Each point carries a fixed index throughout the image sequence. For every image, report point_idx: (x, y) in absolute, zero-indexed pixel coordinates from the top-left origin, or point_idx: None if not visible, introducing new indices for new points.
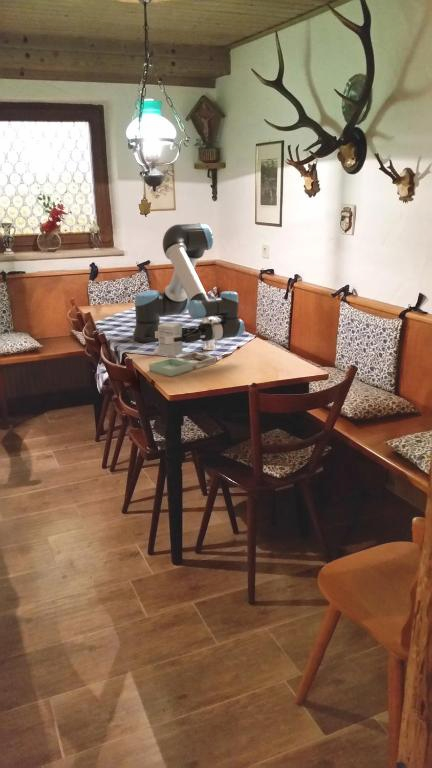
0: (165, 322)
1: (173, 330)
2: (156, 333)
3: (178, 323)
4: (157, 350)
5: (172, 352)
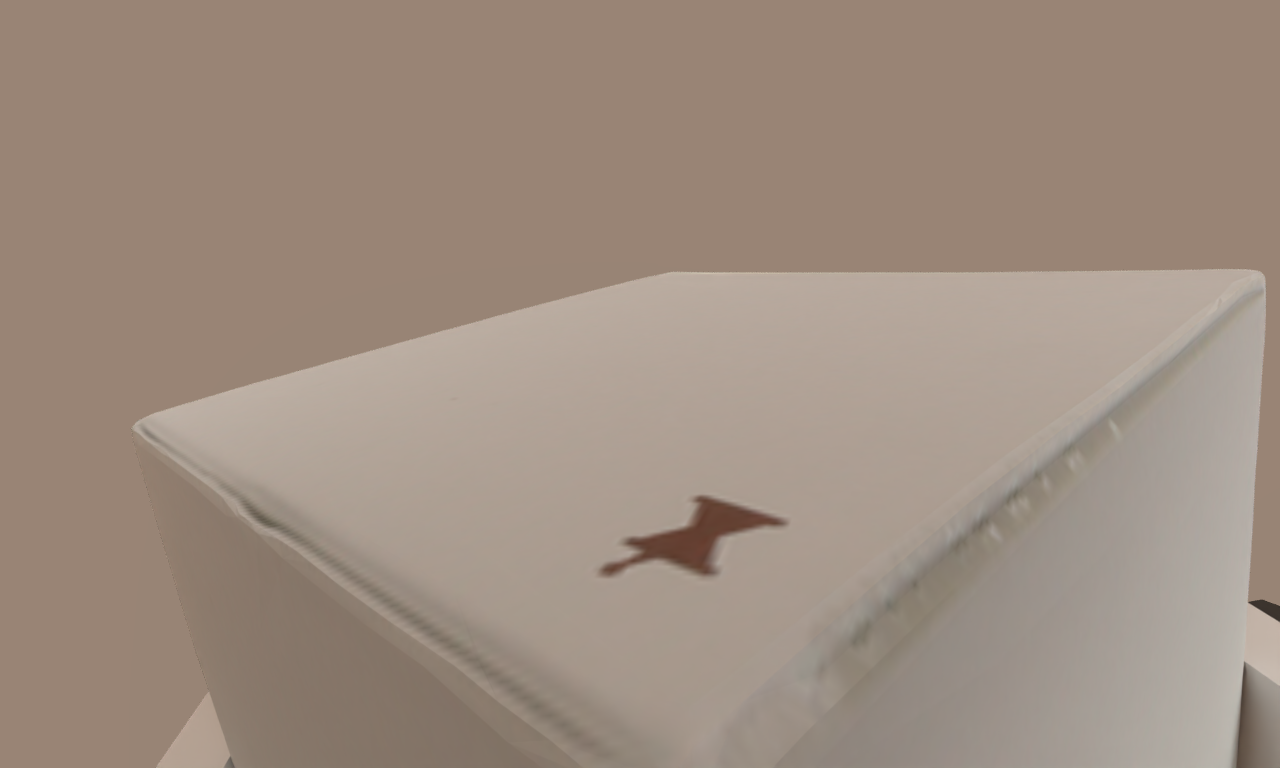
0: (1073, 271)
1: (170, 558)
2: None
3: (640, 529)
4: None
5: None
